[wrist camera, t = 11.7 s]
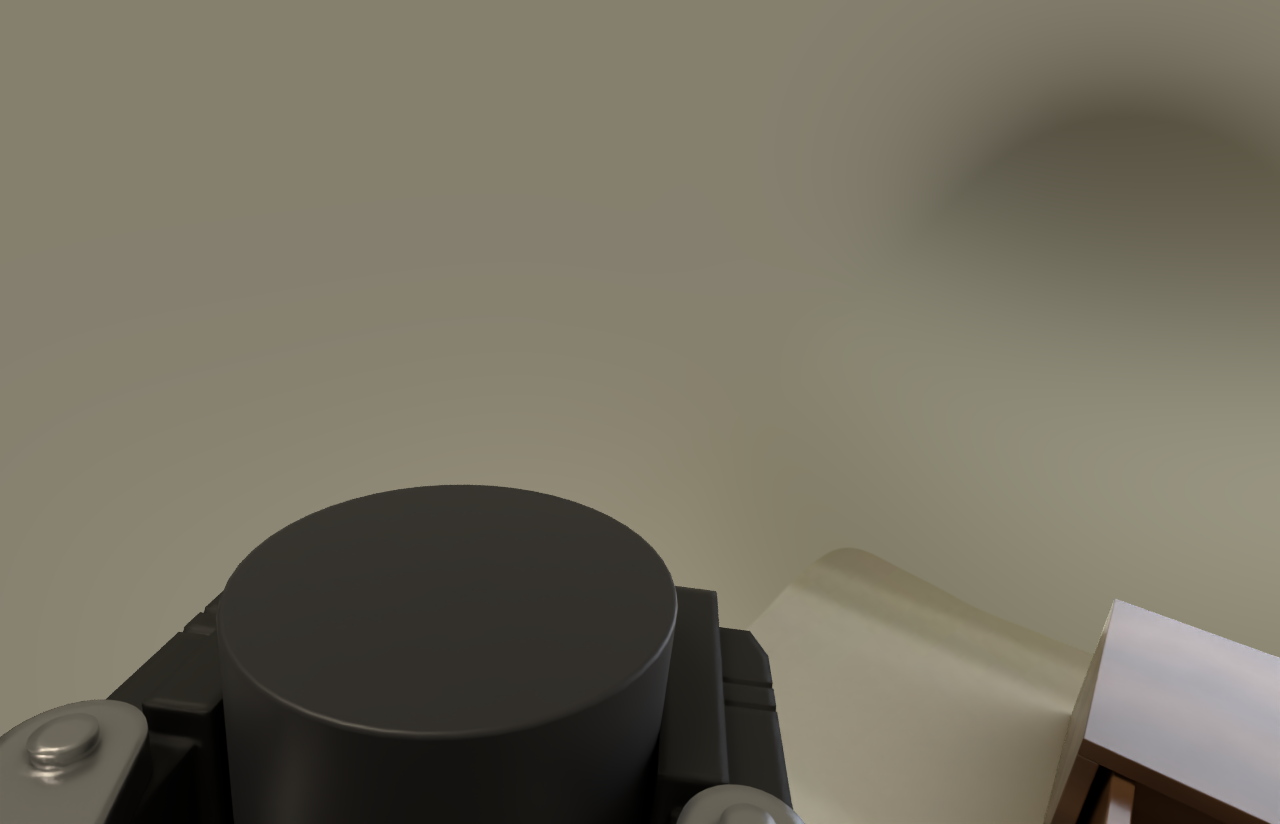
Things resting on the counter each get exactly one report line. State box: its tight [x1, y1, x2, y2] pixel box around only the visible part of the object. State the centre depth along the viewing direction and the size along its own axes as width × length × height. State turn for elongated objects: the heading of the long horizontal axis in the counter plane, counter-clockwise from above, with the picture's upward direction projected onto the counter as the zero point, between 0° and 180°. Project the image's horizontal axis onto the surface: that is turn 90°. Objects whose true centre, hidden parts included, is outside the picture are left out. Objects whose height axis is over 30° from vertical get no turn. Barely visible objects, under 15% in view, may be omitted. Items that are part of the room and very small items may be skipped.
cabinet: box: [1043, 599, 1280, 824], centre depth 33 cm, size 14×12×8 cm
